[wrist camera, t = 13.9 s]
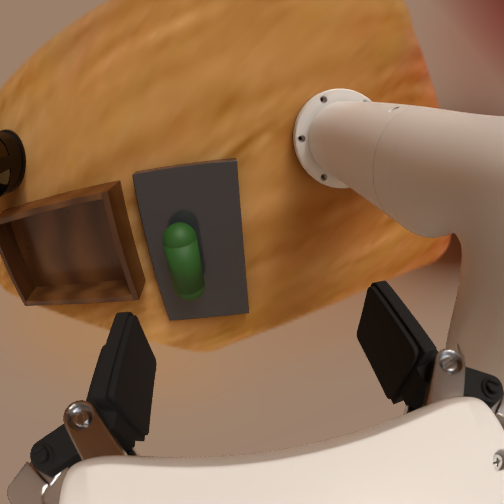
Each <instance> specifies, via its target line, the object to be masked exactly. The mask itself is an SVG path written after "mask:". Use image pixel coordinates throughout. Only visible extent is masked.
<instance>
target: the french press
mask: <svg viewBox="0 0 504 504" xmlns="http://www.w3.org/2000/svg"><path fill="white" fill-rule="evenodd" d="M0 140H1V141H2V142H3V144H4V145H5V147H6V149H7V152H8V156H6V157H3V158H1V159H0V173H2V172H4V171H6V170H8V169H10V177H9V182H8V184H5V185H4V184H1V183H0V197H1V196H2V195H4V194H5V193H9V192H11V191H13V190H14V189H16V188H17V187H18V185H19V184H20V182H21V181H22V178H23V175H24V171H25V163H26V160H25V151H24V147H23V144H22V142H21V140H20V138H19V137H18V135H17V134H16V133H14V132H13V131H11V130H1V131H0Z"/></svg>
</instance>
